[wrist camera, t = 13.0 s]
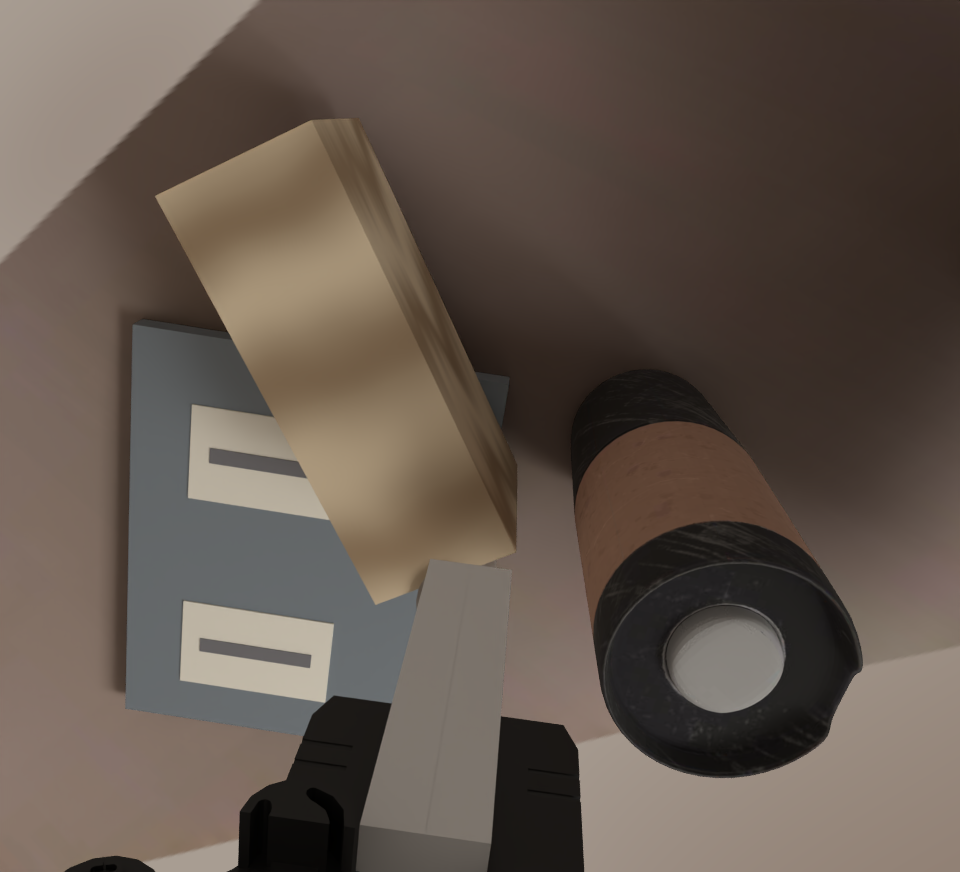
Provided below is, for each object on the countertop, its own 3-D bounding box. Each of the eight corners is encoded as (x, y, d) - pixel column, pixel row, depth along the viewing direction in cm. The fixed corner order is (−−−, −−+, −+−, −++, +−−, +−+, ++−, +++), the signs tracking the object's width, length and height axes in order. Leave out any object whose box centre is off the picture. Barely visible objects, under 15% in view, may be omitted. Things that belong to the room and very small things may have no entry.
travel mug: (538, 407, 44) (550, 625, 25) (681, 335, 43) (806, 510, 24) (606, 531, 46) (664, 818, 28) (745, 467, 45) (906, 724, 26)
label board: (533, 380, 44) (534, 392, 42) (467, 746, 51) (465, 771, 49) (142, 318, 44) (125, 328, 42) (134, 695, 51) (119, 717, 49)
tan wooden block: (537, 509, 43) (541, 611, 35) (425, 552, 45) (401, 661, 36) (358, 118, 38) (308, 119, 29) (234, 177, 39) (150, 197, 30)
